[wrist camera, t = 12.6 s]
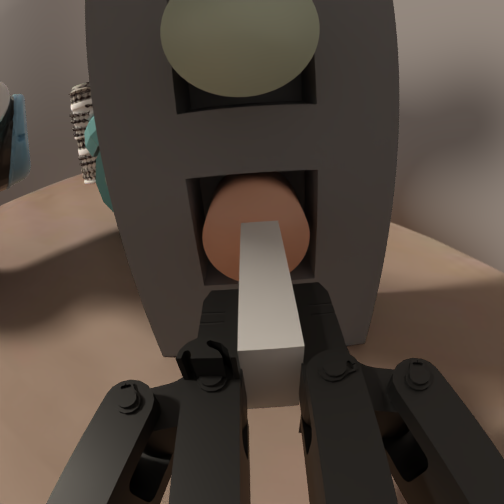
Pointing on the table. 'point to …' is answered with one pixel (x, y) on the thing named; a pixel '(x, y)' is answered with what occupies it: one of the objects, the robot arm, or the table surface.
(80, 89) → the leaning tower model
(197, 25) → the sage button
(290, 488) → the table surface
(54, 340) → the table surface
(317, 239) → the button panel
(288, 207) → the terracotta button
